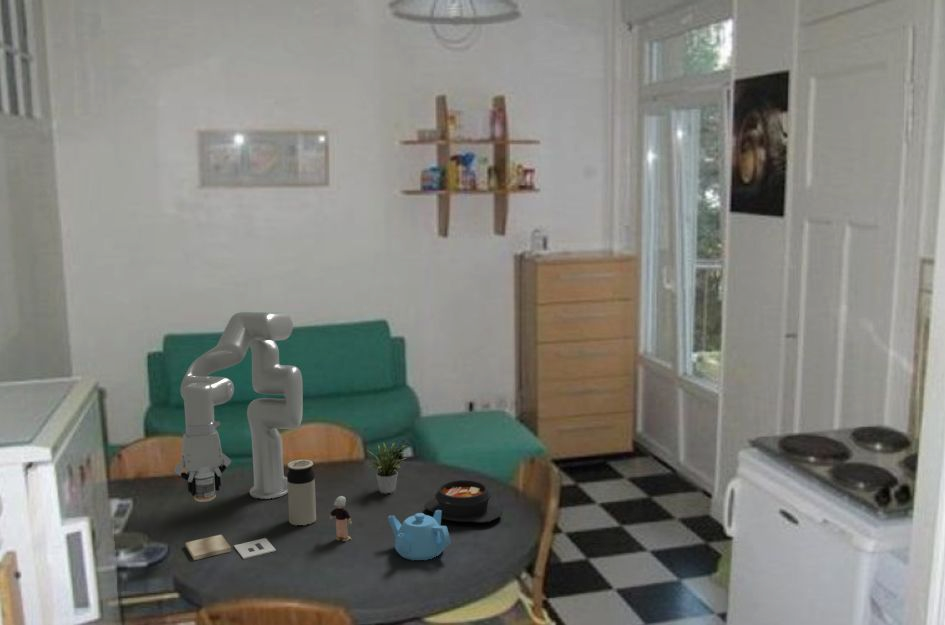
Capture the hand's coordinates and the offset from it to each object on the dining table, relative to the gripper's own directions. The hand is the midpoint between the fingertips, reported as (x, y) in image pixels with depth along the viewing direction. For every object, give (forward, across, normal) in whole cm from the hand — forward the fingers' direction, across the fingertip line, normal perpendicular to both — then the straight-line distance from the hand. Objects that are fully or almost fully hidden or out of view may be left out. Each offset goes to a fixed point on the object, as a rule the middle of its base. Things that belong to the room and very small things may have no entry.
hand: (204, 491), depth 230 cm
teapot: (+17, -49, +33) cm, 62 cm away
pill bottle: (+2, 0, 0) cm, 2 cm away
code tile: (+17, -11, +7) cm, 21 cm away
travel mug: (+17, -29, -4) cm, 34 cm away
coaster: (+17, 0, 0) cm, 17 cm away
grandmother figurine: (+17, -34, +14) cm, 41 cm away
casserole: (+17, -72, +18) cm, 76 cm away
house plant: (+17, -62, -11) cm, 65 cm away
